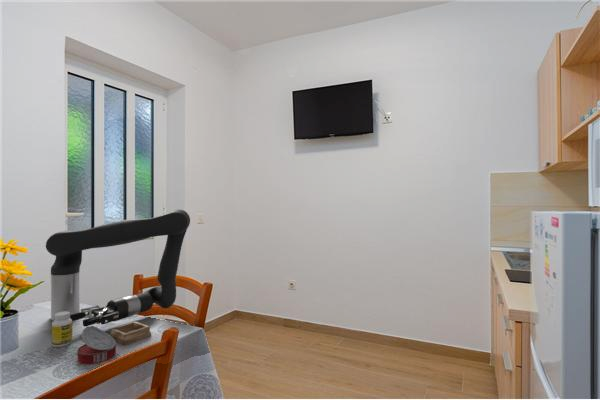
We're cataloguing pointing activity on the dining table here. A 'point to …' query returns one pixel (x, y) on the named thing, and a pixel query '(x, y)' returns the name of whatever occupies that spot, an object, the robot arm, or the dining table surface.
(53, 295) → the robot arm
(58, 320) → the supplement bottle
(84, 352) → the canned food
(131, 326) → the wooden box
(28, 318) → the dining table surface
